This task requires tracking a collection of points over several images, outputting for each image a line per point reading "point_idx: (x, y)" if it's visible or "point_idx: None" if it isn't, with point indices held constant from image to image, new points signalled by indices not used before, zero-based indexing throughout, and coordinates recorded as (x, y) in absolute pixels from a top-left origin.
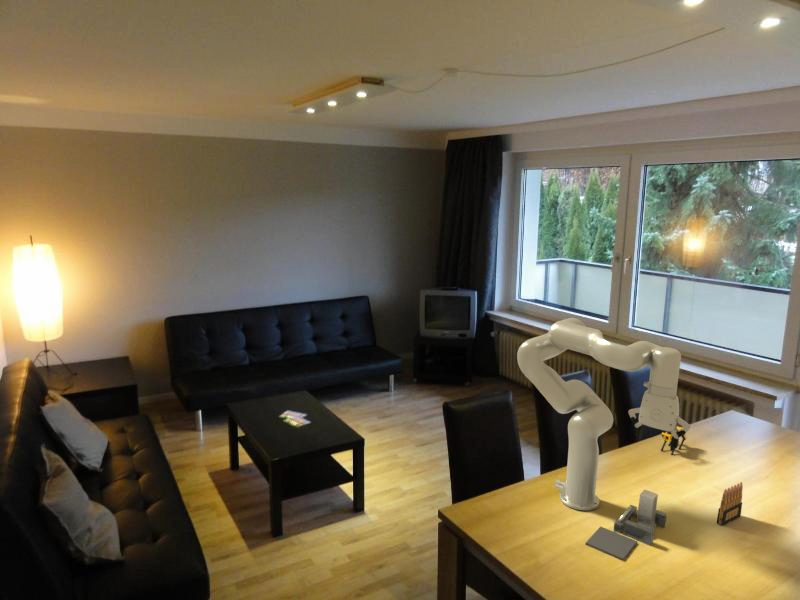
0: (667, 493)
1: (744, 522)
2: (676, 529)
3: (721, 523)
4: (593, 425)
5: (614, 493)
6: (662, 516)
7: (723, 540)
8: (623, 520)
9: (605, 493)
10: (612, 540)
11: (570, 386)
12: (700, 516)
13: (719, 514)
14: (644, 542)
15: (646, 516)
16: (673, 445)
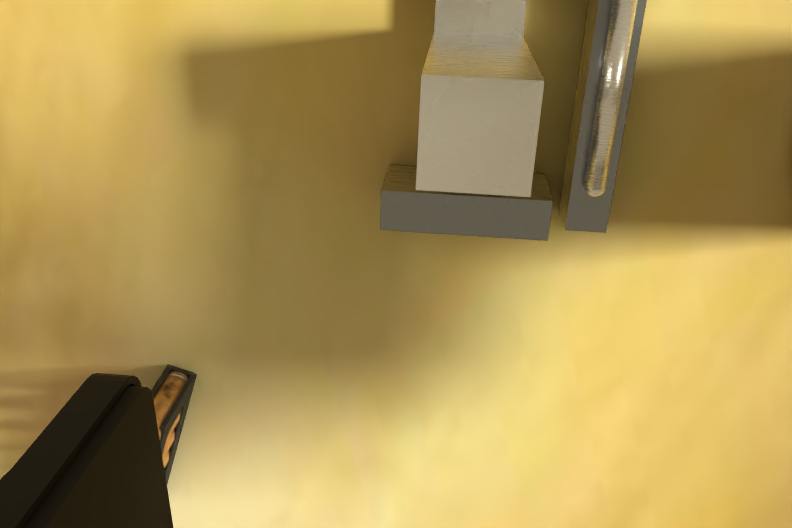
0: (462, 500)
1: None
2: (329, 196)
3: (168, 373)
4: None
5: (720, 352)
6: (397, 189)
7: (118, 244)
8: (609, 2)
9: (772, 322)
10: None
11: None
12: (272, 389)
13: (169, 406)
14: None
15: (465, 46)
16: (34, 472)
